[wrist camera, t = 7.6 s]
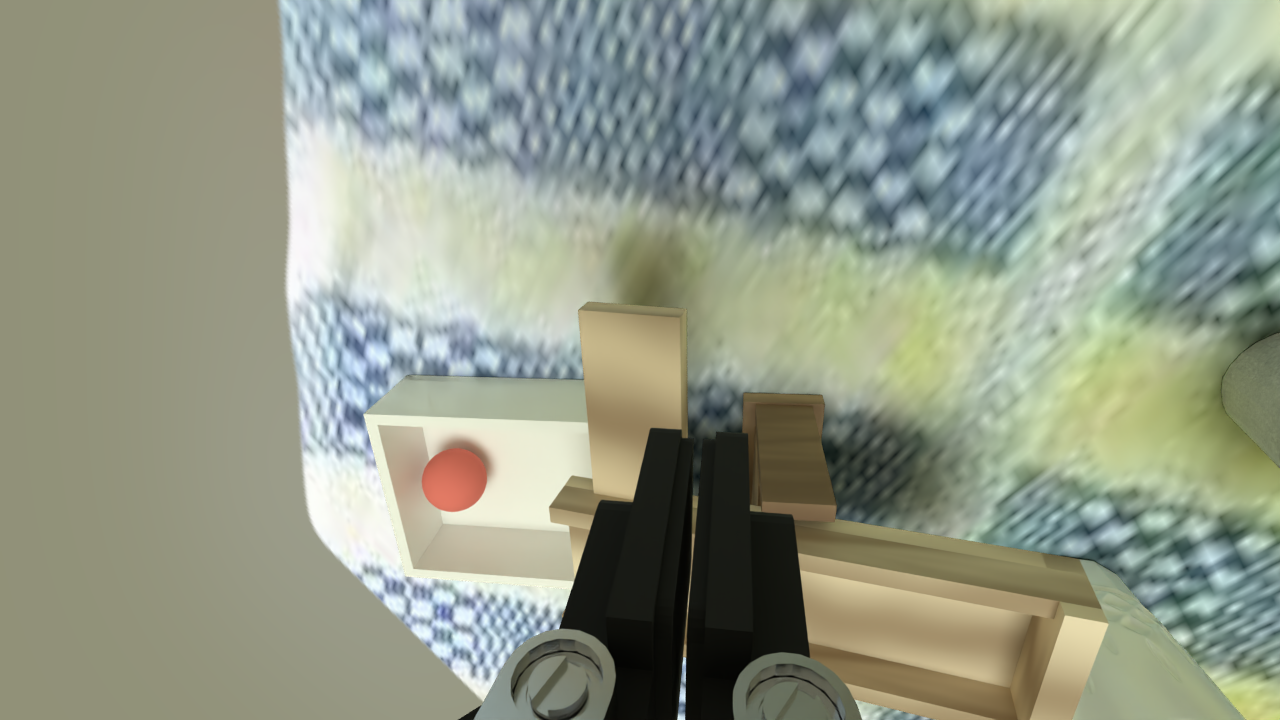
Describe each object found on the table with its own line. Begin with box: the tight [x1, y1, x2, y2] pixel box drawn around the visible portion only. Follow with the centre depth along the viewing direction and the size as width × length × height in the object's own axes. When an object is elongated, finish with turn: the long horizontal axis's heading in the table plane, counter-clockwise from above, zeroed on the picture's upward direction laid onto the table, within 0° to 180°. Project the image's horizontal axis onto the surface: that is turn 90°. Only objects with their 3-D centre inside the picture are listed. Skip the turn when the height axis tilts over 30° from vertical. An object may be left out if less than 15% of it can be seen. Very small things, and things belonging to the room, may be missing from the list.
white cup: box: [1072, 559, 1246, 720], centre depth 30 cm, size 8×8×10 cm
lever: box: [549, 302, 1109, 720], centre depth 24 cm, size 16×20×4 cm
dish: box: [364, 375, 593, 589], centre depth 34 cm, size 11×12×4 cm
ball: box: [422, 448, 487, 512], centre depth 34 cm, size 4×4×4 cm
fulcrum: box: [742, 393, 837, 522], centre depth 29 cm, size 10×4×9 cm, turn 2°
